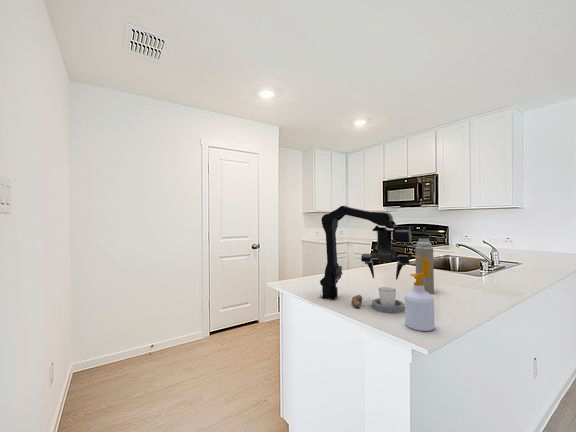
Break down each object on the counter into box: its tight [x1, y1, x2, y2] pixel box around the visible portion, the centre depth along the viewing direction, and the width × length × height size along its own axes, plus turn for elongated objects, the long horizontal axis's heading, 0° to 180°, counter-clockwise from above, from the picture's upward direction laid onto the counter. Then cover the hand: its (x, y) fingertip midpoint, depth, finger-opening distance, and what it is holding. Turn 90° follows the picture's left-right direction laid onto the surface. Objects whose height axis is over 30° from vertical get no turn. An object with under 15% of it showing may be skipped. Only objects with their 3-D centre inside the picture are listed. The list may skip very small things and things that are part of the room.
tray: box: [371, 297, 405, 314], centre depth 113 cm, size 12×12×2 cm
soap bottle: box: [404, 254, 436, 332], centre depth 94 cm, size 9×9×25 cm
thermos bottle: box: [414, 235, 435, 295], centre depth 135 cm, size 8×8×28 cm
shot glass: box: [378, 286, 397, 307], centre depth 113 cm, size 7×7×7 cm
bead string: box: [351, 294, 363, 309], centre depth 118 cm, size 11×4×3 cm, turn 161°
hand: (384, 278), depth 115 cm, fingers open, 9 cm apart
